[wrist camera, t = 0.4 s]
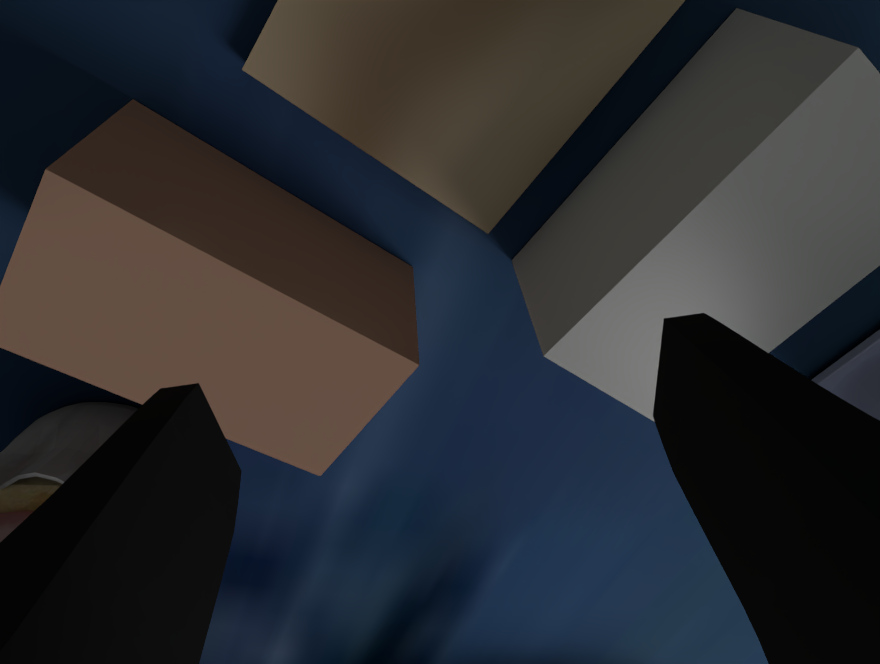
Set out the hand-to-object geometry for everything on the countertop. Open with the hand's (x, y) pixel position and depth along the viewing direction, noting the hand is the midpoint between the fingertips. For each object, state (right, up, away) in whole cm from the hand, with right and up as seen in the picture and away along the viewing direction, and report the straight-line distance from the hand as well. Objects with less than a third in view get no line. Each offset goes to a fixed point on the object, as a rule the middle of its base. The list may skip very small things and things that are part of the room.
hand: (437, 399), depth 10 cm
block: (+7, +5, +9) cm, 13 cm away
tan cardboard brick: (-6, +3, +9) cm, 11 cm away
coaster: (+1, +9, +6) cm, 11 cm away
